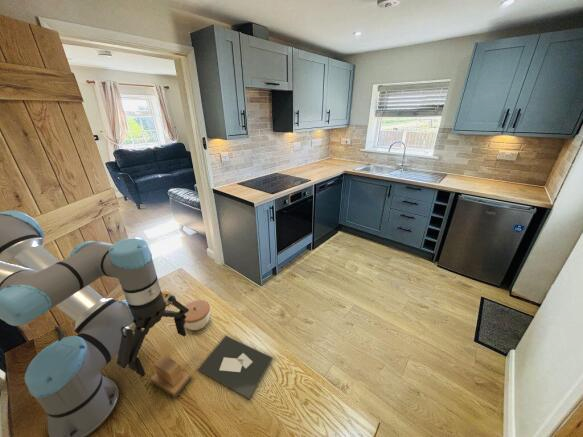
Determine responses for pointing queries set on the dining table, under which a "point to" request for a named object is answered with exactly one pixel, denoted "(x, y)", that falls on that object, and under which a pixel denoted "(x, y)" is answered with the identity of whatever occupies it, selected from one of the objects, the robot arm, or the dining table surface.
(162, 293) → the bread roll
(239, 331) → the dining table surface
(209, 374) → the slate board
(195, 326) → the trinket box
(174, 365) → the wooden stepped block
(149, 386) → the dining table surface
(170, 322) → the dining table surface
